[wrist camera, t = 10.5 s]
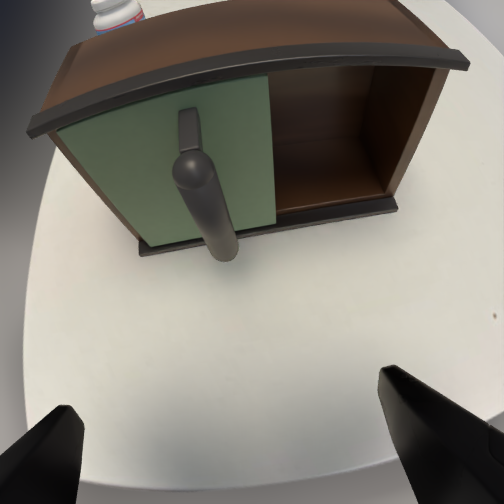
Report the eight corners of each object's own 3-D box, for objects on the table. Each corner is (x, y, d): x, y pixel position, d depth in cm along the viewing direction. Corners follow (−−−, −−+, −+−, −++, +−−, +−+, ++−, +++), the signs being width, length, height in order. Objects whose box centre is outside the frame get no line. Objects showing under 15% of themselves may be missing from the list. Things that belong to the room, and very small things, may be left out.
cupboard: (396, 211, 23) (471, 62, 10) (140, 257, 24) (24, 132, 10) (363, 134, 27) (394, -9, 13) (141, 172, 27) (67, 42, 14)
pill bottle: (149, 71, 33) (121, -3, 23) (107, 79, 34) (75, 12, 24) (163, 46, 36) (141, -22, 25) (124, 53, 36) (98, -9, 26)
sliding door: (287, 274, 21) (290, 143, 10) (152, 297, 22) (36, 205, 10) (275, 216, 23) (265, 67, 11) (150, 240, 23) (58, 123, 12)
